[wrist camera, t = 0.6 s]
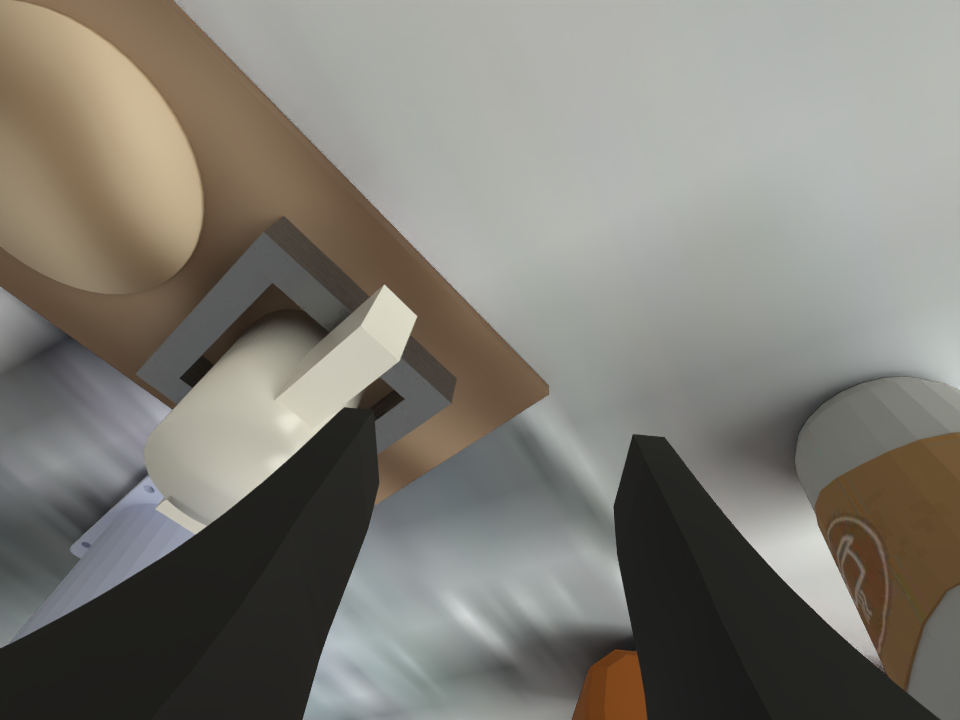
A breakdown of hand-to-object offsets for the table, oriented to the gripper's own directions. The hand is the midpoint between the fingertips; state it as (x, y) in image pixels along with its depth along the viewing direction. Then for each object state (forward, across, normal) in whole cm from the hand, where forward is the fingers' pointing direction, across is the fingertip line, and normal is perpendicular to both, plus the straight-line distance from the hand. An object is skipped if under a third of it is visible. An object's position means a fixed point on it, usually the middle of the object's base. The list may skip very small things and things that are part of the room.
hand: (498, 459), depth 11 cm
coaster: (+9, +15, -3) cm, 17 cm away
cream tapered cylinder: (+9, +7, +3) cm, 11 cm away
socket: (+9, +8, +4) cm, 12 cm away
